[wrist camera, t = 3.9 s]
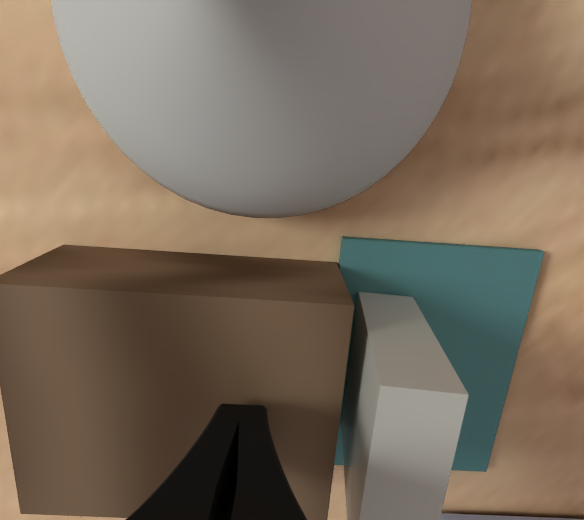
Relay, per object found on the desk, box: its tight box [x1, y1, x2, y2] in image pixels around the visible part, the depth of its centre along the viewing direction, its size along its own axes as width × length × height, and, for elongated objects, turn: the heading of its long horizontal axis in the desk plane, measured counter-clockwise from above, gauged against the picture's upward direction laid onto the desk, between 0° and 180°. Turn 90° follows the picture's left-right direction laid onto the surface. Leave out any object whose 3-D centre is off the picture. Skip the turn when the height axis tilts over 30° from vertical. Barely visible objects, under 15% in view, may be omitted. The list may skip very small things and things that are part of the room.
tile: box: [341, 292, 469, 520], centre depth 13 cm, size 6×6×2 cm
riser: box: [0, 245, 354, 520], centre depth 14 cm, size 10×8×4 cm
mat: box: [334, 237, 544, 472], centre depth 16 cm, size 7×10×1 cm
